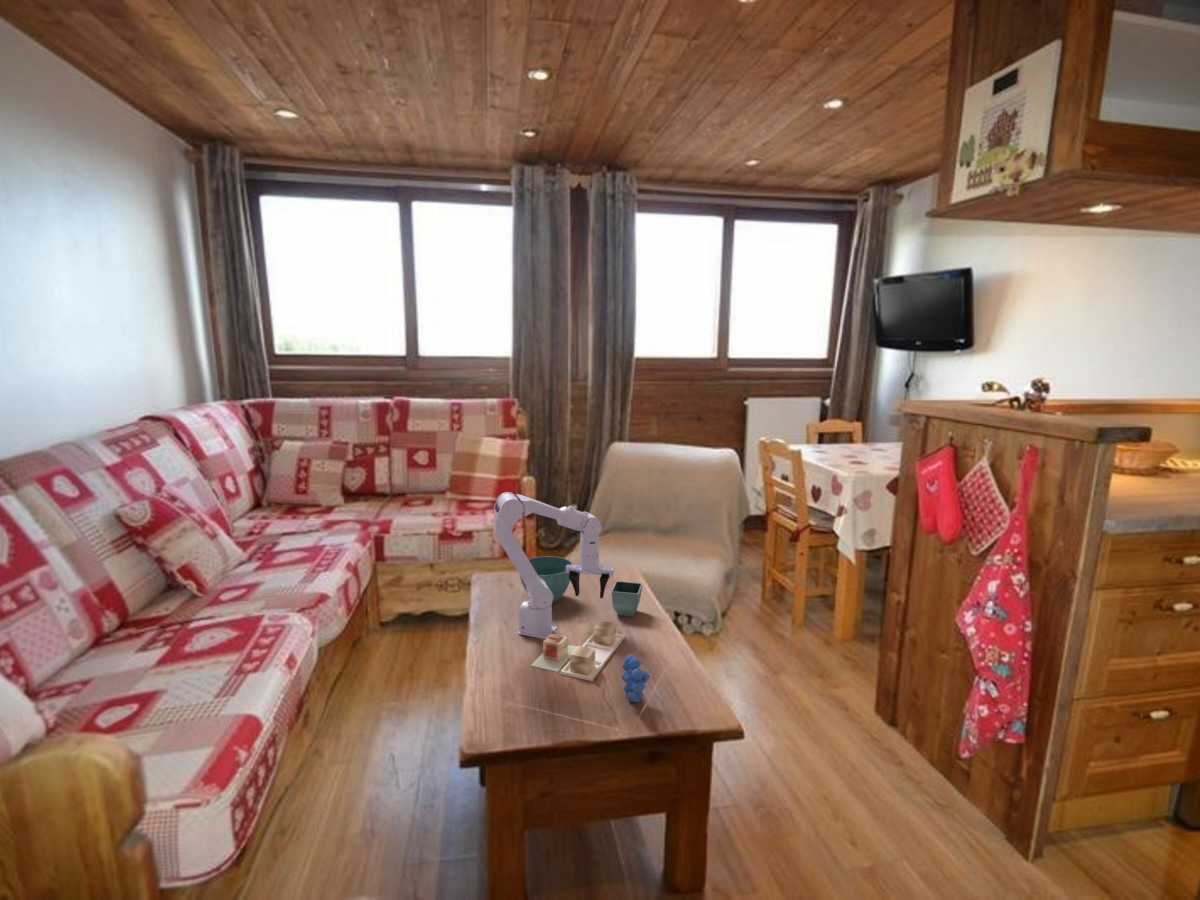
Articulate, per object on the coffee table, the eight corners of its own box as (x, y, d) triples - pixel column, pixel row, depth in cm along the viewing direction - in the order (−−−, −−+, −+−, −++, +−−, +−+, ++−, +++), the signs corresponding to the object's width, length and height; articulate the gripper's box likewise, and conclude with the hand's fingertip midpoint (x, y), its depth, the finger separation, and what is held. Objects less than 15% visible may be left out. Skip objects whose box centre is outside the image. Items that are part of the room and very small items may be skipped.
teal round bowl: (510, 606, 197) (509, 571, 195) (532, 586, 214) (531, 553, 212) (561, 614, 192) (561, 577, 190) (580, 592, 209) (579, 558, 207)
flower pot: (638, 620, 188) (638, 593, 186) (610, 618, 189) (611, 591, 188) (642, 608, 196) (642, 583, 195) (615, 606, 198) (615, 580, 196)
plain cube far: (593, 643, 172) (593, 627, 171) (600, 636, 177) (600, 620, 176) (610, 646, 170) (610, 630, 169) (616, 639, 175) (616, 623, 174)
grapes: (657, 712, 140) (658, 665, 138) (630, 716, 139) (630, 669, 137) (642, 685, 151) (642, 641, 149) (616, 689, 150) (616, 644, 148)
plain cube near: (570, 671, 157) (570, 654, 156) (577, 662, 162) (577, 645, 161) (587, 675, 155) (587, 657, 154) (595, 666, 160) (595, 648, 159)
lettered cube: (543, 658, 163) (542, 641, 162) (551, 650, 168) (551, 633, 167) (559, 662, 161) (559, 644, 160) (567, 653, 166) (567, 636, 165)
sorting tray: (560, 675, 156) (560, 671, 156) (596, 633, 179) (596, 629, 179) (592, 682, 153) (592, 678, 153) (624, 638, 176) (624, 634, 176)
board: (530, 667, 160) (530, 665, 160) (553, 643, 173) (553, 641, 173) (557, 673, 157) (557, 671, 157) (579, 648, 170) (579, 646, 170)
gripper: (563, 556, 178) (563, 599, 181) (610, 559, 175) (610, 603, 178) (569, 548, 185) (569, 590, 187) (615, 552, 182) (614, 594, 185)
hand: (589, 596), depth 183 cm, fingers open, 7 cm apart
